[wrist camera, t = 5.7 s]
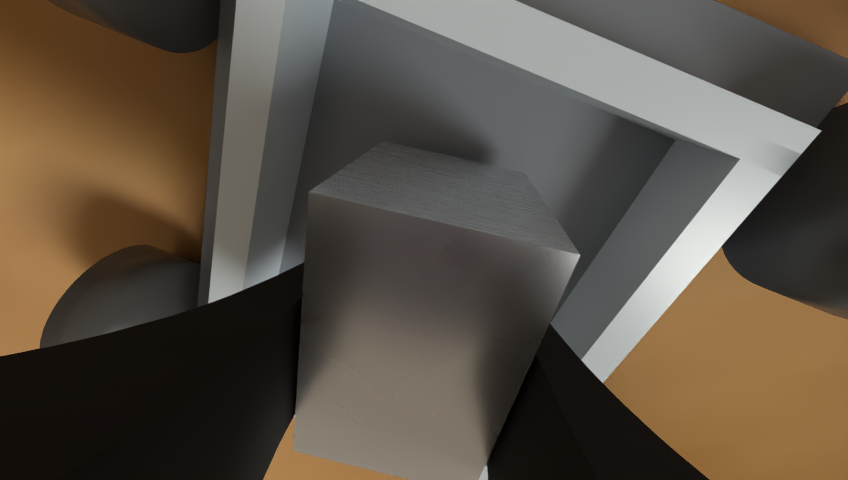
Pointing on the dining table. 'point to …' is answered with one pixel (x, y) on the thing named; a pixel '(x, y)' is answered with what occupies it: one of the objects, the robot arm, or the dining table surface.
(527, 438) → the robot arm
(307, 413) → the brushed metal block
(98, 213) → the dining table surface
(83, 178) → the dining table surface
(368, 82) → the chassis
